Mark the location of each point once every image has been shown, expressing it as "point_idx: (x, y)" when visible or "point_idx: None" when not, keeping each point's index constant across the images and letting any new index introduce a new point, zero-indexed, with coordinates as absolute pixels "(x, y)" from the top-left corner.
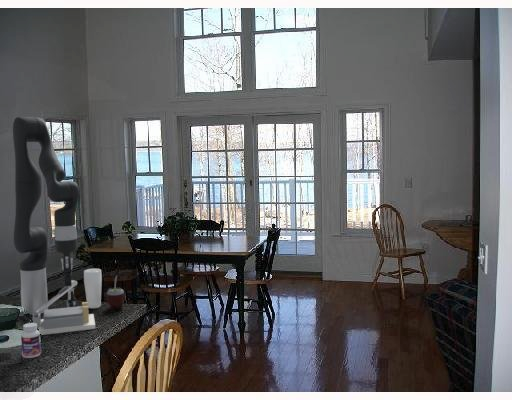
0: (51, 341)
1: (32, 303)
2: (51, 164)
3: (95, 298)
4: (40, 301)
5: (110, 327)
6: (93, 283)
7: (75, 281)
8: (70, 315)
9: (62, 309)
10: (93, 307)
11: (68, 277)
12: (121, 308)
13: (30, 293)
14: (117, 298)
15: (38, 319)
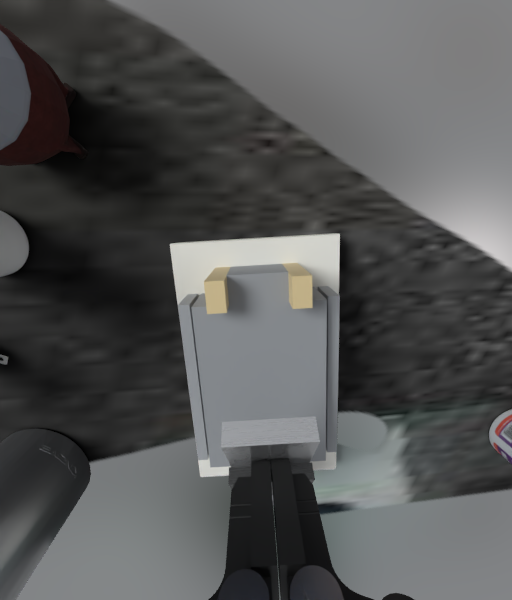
0: (413, 385)
1: (61, 513)
2: None
3: None
4: (45, 491)
5: (340, 164)
6: None
7: (260, 446)
8: (325, 354)
9: (227, 396)
10: (27, 244)
11: (329, 568)
12: (67, 89)
13: (26, 572)
14: (47, 82)
15: None
